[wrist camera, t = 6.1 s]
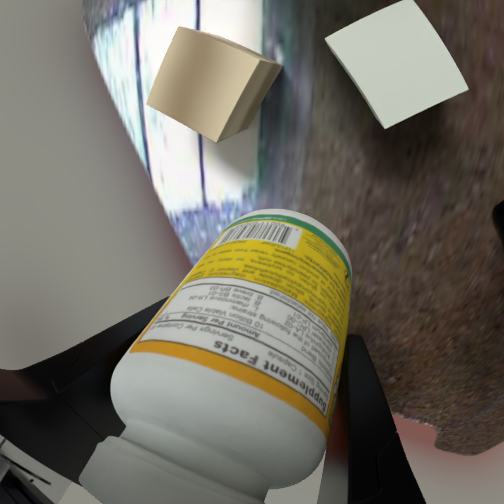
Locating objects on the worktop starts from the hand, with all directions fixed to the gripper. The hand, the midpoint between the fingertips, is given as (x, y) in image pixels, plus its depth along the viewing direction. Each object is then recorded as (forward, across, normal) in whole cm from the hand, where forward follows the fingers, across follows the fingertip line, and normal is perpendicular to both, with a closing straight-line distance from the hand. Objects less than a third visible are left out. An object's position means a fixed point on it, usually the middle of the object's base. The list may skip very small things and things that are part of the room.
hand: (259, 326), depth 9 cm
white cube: (+13, -4, -8) cm, 16 cm away
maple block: (+13, +6, -7) cm, 16 cm away
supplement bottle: (+3, 0, 0) cm, 3 cm away
